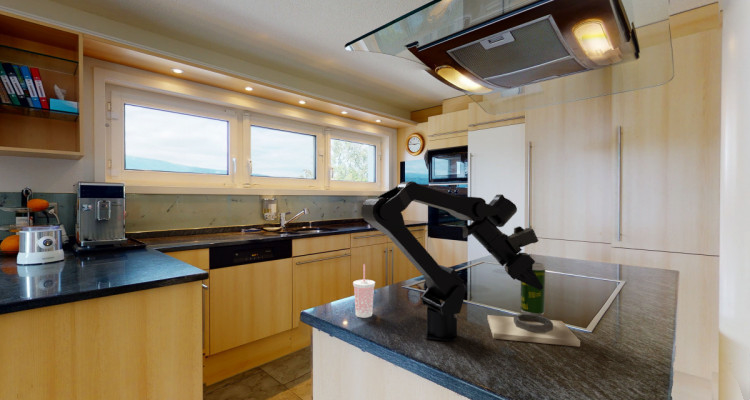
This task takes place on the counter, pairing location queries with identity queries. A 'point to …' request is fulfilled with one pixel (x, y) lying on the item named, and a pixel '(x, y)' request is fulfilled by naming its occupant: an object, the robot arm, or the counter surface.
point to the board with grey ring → (531, 329)
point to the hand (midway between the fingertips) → (538, 285)
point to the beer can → (533, 294)
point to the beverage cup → (364, 296)
